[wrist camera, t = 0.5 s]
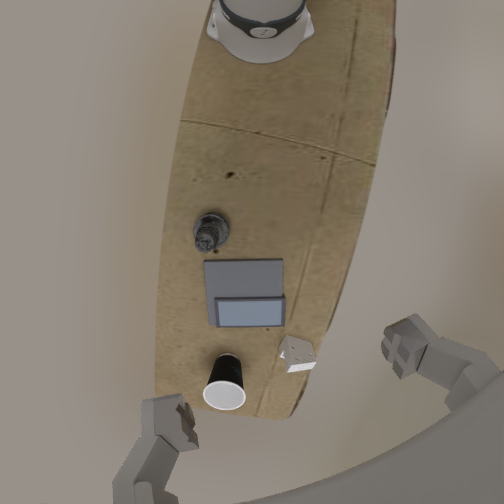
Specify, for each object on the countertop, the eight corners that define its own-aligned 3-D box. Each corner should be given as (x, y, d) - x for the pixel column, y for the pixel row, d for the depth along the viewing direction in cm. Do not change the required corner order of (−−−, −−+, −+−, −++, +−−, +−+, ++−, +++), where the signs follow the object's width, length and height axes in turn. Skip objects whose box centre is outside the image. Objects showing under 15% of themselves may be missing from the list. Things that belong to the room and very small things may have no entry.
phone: (214, 297, 55) (214, 299, 54) (285, 296, 54) (285, 298, 54) (217, 324, 56) (216, 327, 55) (284, 323, 56) (284, 326, 55)
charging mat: (204, 260, 53) (203, 261, 53) (282, 258, 53) (282, 260, 52) (210, 322, 57) (209, 324, 56) (281, 321, 57) (281, 324, 56)
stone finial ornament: (214, 250, 53) (203, 275, 42) (190, 227, 52) (173, 246, 40) (237, 227, 52) (232, 246, 40) (212, 203, 50) (200, 216, 39)
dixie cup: (205, 369, 61) (198, 403, 51) (215, 342, 59) (208, 376, 48) (240, 378, 62) (238, 414, 51) (252, 353, 60) (251, 388, 49)
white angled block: (266, 334, 55) (291, 365, 49) (303, 333, 61) (327, 360, 54) (259, 348, 56) (282, 379, 50) (295, 346, 62) (318, 373, 55)
